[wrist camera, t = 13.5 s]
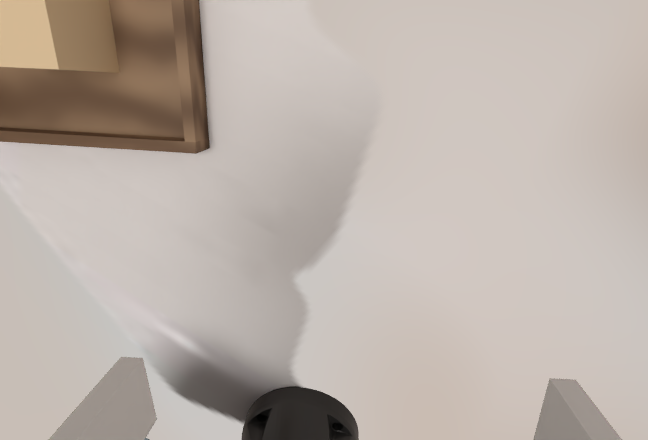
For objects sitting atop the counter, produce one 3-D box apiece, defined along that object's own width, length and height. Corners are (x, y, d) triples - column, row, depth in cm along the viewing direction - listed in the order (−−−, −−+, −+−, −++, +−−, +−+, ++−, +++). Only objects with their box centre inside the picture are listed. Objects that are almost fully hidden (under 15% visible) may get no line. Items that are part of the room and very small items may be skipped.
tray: (209, 148, 35) (196, 153, 32) (1, 135, 36) (-29, 139, 33) (190, -109, 28) (172, -131, 25) (-68, -112, 29) (-113, -133, 26)
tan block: (119, 73, 32) (58, 69, 26) (46, 69, 32) (-31, 65, 26) (105, -18, 30) (34, -48, 23) (27, -20, 30) (-65, -50, 23)
